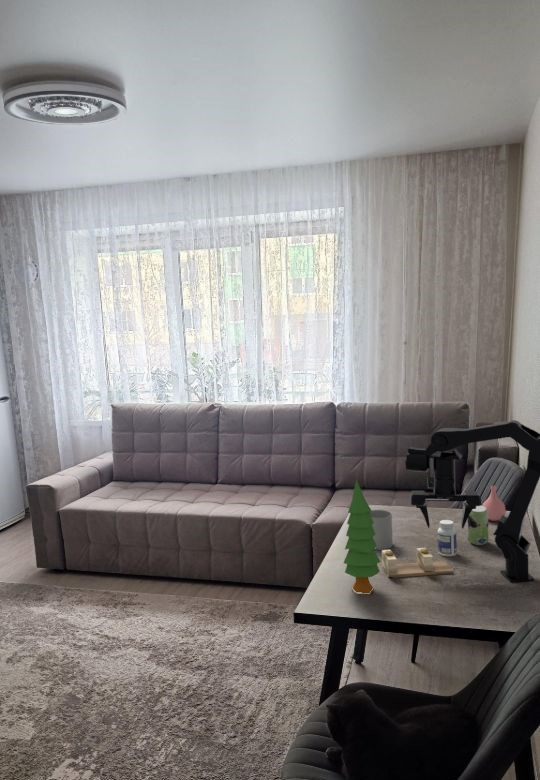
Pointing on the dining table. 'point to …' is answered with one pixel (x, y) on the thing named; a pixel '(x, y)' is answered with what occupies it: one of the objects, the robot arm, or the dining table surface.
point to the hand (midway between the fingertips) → (445, 527)
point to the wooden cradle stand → (410, 567)
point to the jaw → (425, 559)
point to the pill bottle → (447, 538)
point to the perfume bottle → (494, 506)
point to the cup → (382, 528)
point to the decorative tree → (361, 543)
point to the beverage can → (478, 525)
